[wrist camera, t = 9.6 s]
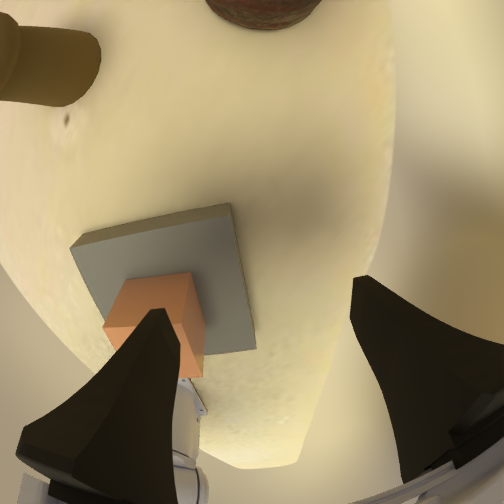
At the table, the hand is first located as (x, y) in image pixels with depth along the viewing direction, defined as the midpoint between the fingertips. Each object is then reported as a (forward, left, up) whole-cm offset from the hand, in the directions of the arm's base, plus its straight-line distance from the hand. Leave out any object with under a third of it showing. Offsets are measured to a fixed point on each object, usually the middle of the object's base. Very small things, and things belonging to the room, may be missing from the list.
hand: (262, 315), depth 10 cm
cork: (+14, +11, -11) cm, 21 cm away
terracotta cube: (-5, +7, -8) cm, 12 cm away
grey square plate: (-5, +7, -11) cm, 14 cm away
